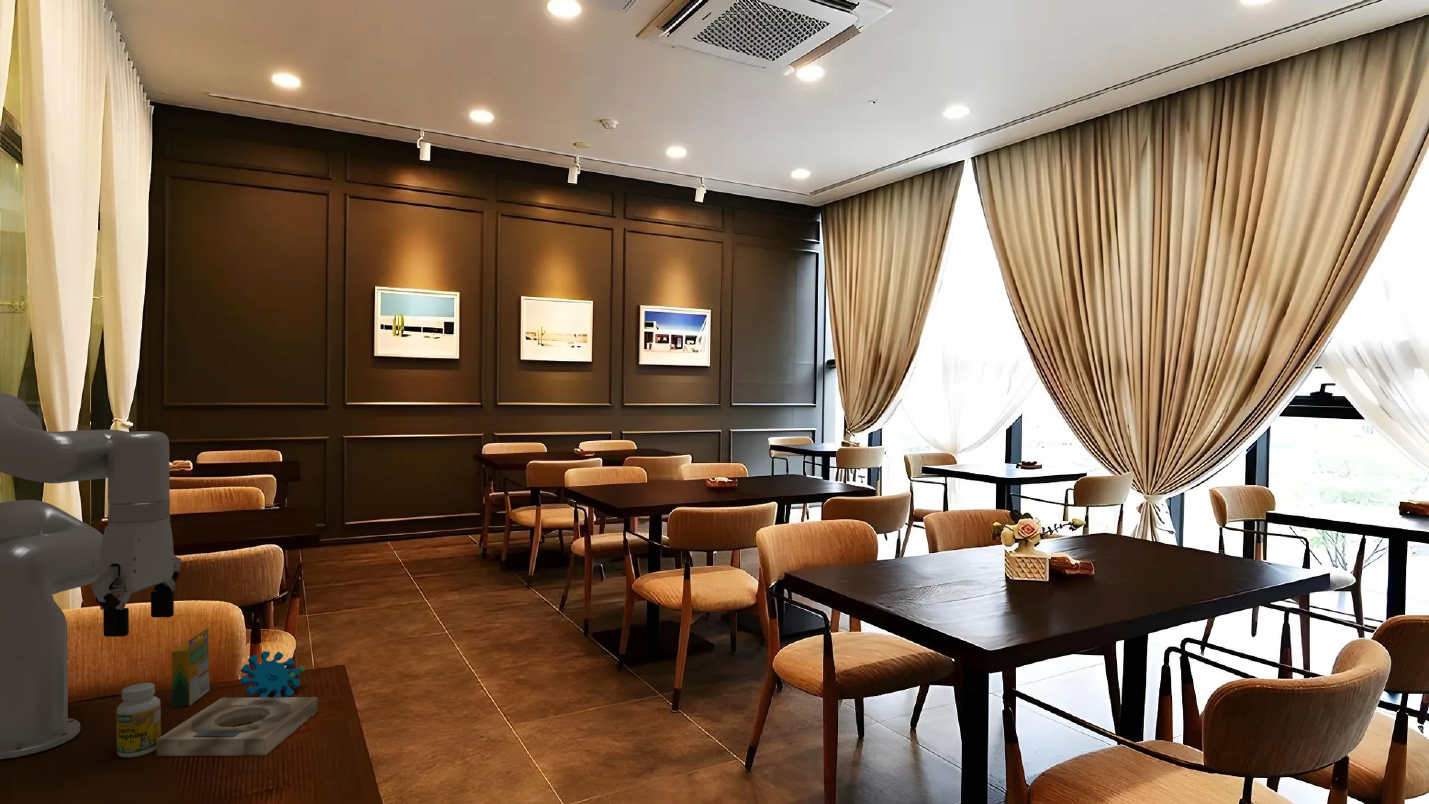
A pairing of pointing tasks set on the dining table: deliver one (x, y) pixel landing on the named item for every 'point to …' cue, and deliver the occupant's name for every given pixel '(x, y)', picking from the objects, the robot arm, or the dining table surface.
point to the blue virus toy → (271, 675)
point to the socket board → (238, 727)
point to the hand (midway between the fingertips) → (140, 626)
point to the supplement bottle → (138, 721)
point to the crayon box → (190, 670)
